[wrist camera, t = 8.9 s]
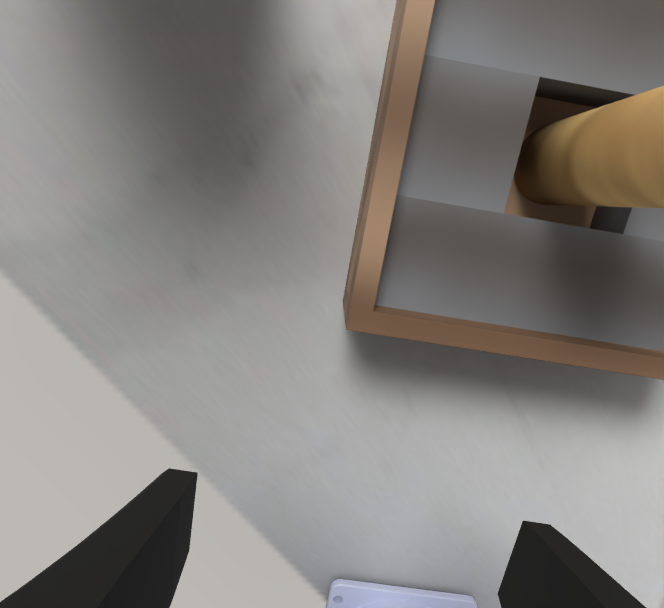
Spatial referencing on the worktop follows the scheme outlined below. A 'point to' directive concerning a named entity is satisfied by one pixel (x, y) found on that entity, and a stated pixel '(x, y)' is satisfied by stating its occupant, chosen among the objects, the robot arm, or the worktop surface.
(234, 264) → the worktop surface
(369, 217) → the tray
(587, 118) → the peg
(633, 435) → the worktop surface
